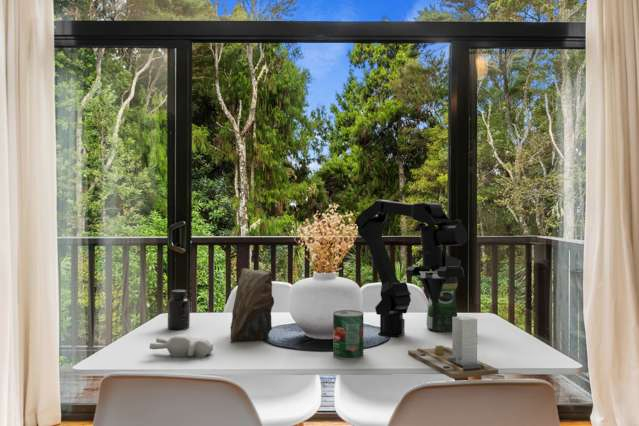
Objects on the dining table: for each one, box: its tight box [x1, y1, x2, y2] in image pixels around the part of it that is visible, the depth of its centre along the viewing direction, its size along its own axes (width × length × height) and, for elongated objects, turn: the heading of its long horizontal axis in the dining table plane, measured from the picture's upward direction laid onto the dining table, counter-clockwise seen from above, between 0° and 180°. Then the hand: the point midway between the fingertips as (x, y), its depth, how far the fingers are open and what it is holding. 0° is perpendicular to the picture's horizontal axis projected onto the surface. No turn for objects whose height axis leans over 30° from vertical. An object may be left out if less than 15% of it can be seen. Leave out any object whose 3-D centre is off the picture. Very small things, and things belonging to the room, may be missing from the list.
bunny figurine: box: [149, 333, 214, 358], centre depth 131 cm, size 10×5×15 cm
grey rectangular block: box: [448, 315, 482, 370], centre depth 119 cm, size 6×7×11 cm
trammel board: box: [407, 344, 499, 380], centre depth 125 cm, size 21×12×3 cm, turn 18°
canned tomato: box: [332, 309, 365, 361], centre depth 132 cm, size 8×8×11 cm
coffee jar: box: [426, 277, 459, 332], centre depth 163 cm, size 10×8×19 cm
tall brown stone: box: [230, 267, 275, 344], centre depth 151 cm, size 13×13×20 cm
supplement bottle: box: [167, 289, 191, 331], centre depth 163 cm, size 7×7×12 cm
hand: (435, 302), depth 143 cm, fingers closed
